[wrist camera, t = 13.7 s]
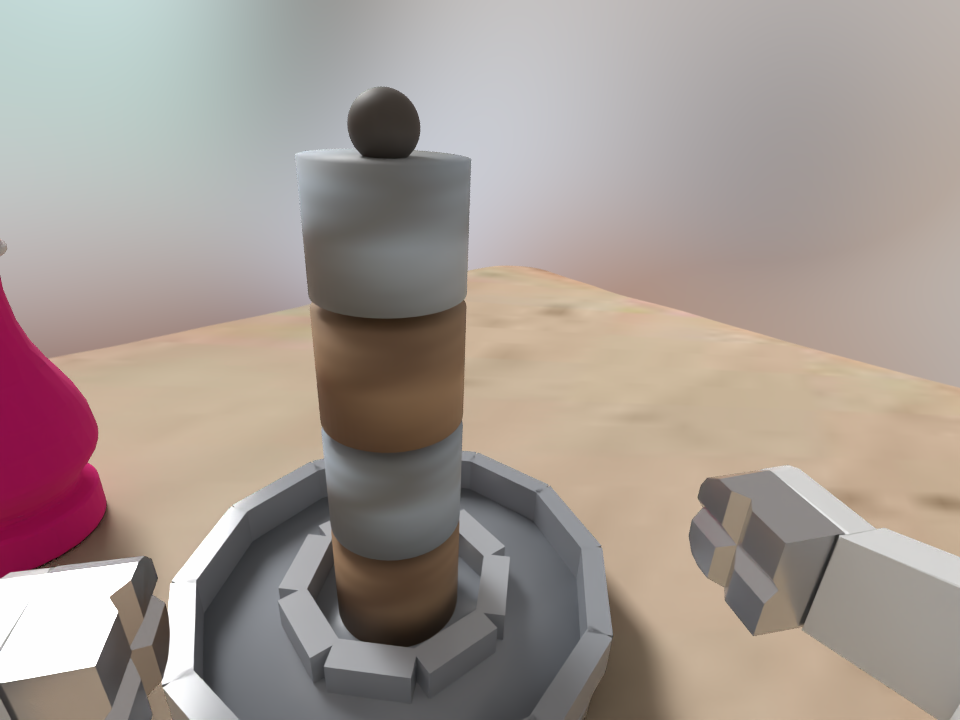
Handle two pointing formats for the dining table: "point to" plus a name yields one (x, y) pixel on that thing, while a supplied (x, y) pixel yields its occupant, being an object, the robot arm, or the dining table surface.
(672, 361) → the dining table surface
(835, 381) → the dining table surface
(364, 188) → the bead column
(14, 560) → the pepper mill
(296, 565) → the tray
